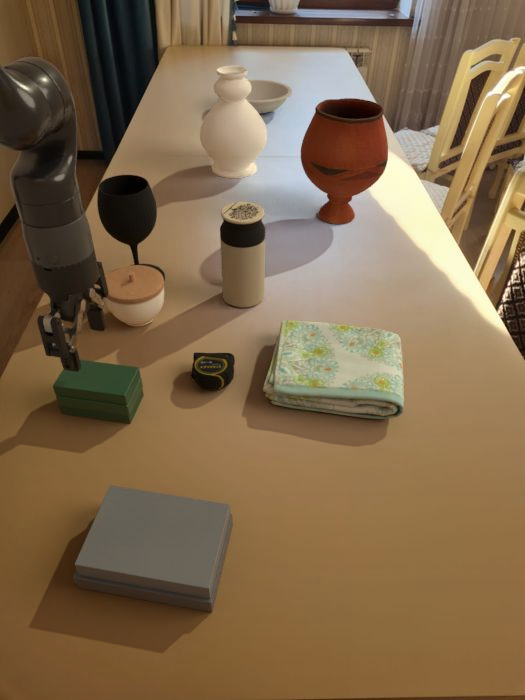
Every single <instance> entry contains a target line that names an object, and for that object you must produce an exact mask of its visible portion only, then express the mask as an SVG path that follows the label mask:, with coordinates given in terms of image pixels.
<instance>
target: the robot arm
mask: <svg viewBox="0 0 525 700" xmlns="http://www.w3.org/2000/svg"><path fill="white" fill-rule="evenodd" d="M0 146H1V147H2V148H5V149H8V150H12V151H18V152H19V153H18V156H17V158H16V160H15V162H14V164H13V166H12V167H11V169H10V172H9V184H10V188H11V189H10V190H11V192H12V196H13V200H14V203H15V207H16V210H17V213H18V216H19V220H20V224H21V233H22V237H23V241H24V245H25V248H26V251H27V255H28V259H29V261H30V262H29V263H30V264H31V268H32V271H33V274H34V278H35V281H36V284H37V286H38V289H40V290H41V291H42V292H44V293H45V294H46V295H47V296H48V297H49V302H50V304H49V306H50V307H49V308H50V309H49V310H50V311H49V312H48V313H47V314H46V315H44V314H39V315H38V316H37V320H36V323H37V327H38V331H39V334H40V337H41V338H40V339H41V342H42V346H43V349H44V352H45V356H47V357H54V358H59V360H60V362H61V366H62V369H65V370H68V371H75V372H78V371H79V370H80V369H81V367H82V366H81V363H80V360H81V359H80V356H79V352H78V348H77V338H78V335H80V334H81V333H82V327H83V318H84V316H85V314H86V316H87V321H88V326H89V329H90V330H92V331H96V332H101V333H102V332H105V331H106V329H107V324H106V319H105V313H104V308H105V298H107V297H108V294H109V292H108V287H107V283H106V279H105V277H106V275H105V270H104V266H103V262H102V261H98V260H97V254H96V250H95V244H94V240H93V236H92V231H91V226H90V223H89V221H88V218H87V215H86V211H85V208H84V203H83V198H82V194H81V188H80V184H79V180H78V176H77V163H78V162H77V161H78V119H77V108H76V101H75V100H74V96H73V93H72V90H71V88H70V85H69V83H68V82H67V80H66V77H65V76H64V74H63V73H62V72H61V71H60V70H59V69H58V67H56V66H55V65H54V64H53V63H51V62H50V61H48V60H46V59H43V58H41V57H38V56H25V57H21V58H19V59H16V60H14V61H12V62H10V63H8V64H6V65H4V66H3V65H2V64H1V63H0ZM96 286H98V287H96ZM62 321H63V322H62ZM64 322H66V323H72V324H73V326H72V327H71V326H65V323H64ZM65 334H67V335H68V342H67V339H66V335H65Z"/></svg>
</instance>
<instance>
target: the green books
mask: <svg viewBox="0 0 525 700" xmlns="http://www.w3.org/2000/svg"><path fill="white" fill-rule="evenodd" d="M143 384H144V383H143V379H142V377H140V379H139V381H138V383H137V386H136V388H135V390H134V392H133V394H132V396H131V398H130V400H129V402H128V404H127V405H123V404H116V403H109V402H101V401H94V400H87V399H80V398H73V397H66V396H58V395H55V397H56V400H57V403H58V409H59V411H60V414H61V415H68V416H74V417H82V418H88V419H95V420H101V421H109V422H116V423H122V424H129V425H131V424H132V421H133V419H134V417H135V415H136V413H137V411H138V409H139V407H140V404H141V402H142V400H143V398H144V395H145V394H144V385H143Z"/></svg>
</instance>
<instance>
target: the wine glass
mask: <svg viewBox="0 0 525 700" xmlns="http://www.w3.org/2000/svg"><path fill="white" fill-rule="evenodd" d="M96 198H97V200H96V201H97V202H96V203H97V205H96V206H97V213H98V217H99V220H100V222H101V225H102V226H103V228H104V230H105V231H106V232H107V234H108V235H109V236H111V237H112V238H113V239H114V240H116V241H118V242H119V243H122V244H124V245H127V246H129V248H130V250H131V254H132V259H133V265H143V266H149V267H152V268H154V269H156V270H158V271H159V272H160V273H161V274H162V276H163V278H164V281H166V280H165V279H166V275H165V272H164V270H163V269H162V268H160V267H159V266H157V265H155V264H150V263H140V260H139V251H138V246H139V244H141V243H142V242H143V241H145V240H146V239H147V238H148V237H149V236H150V234H152V232H153V230H154V228H155V226H156V223H157V218H158V217H157V216H158V208H157V201H156V198H155V196H154V193H153V190H152V187H151V185H150V183H149V181H148V179H146V178H145V177H142V176H140V175H136V174H119V175H113V176H110V177H108V178H105V179H103V180H102V181H101V182H100V183H99V184H98V187H97V197H96ZM131 265H132V264H130V265H129V266H131Z"/></svg>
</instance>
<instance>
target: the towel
mask: <svg viewBox="0 0 525 700" xmlns="http://www.w3.org/2000/svg"><path fill="white" fill-rule="evenodd" d="M404 380H405V379H404V364H403V346H402V338H401V337H400V335H399V334H397V333H396V332H392V331H387V330H385V329H382V328H377V327H376V328H375V327H369V326H368V327H366V326H365V327H364V326H354V325H346V324H339V323H338V324H337V323H331V322H321V321H319V322H318V321H308V320H294V319H287V320H281V322H280V328H279V331H278V337H277V338H276V341H275V344H274V349H273V354H272V358H271V362H270V365H269V368H268V370H267V374H266V377H265V380H264V383H263V387H262V392H264V393H265V394H264V395H265V397H266V398H269V400H270V403H272V405H275V406H280V407H284V408H290V409H294V410H305V411H313V412H322V413H327V414H335V415H340V416H346V417H347V416H348V417H355V418H363V419H374V420H375V419H376V420H386V419H393V418H399V417H400V416H401V415H402V414H403V413H404V410H405V385H404Z"/></svg>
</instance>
